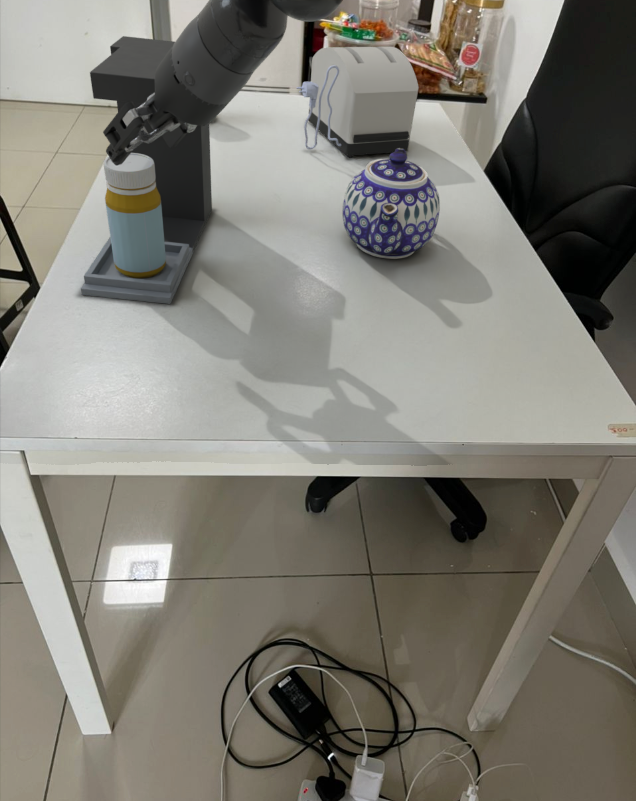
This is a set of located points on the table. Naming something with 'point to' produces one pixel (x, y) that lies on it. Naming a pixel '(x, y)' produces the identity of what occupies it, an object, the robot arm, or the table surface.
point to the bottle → (135, 216)
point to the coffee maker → (174, 170)
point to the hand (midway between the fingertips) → (141, 149)
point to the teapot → (391, 207)
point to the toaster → (362, 98)
